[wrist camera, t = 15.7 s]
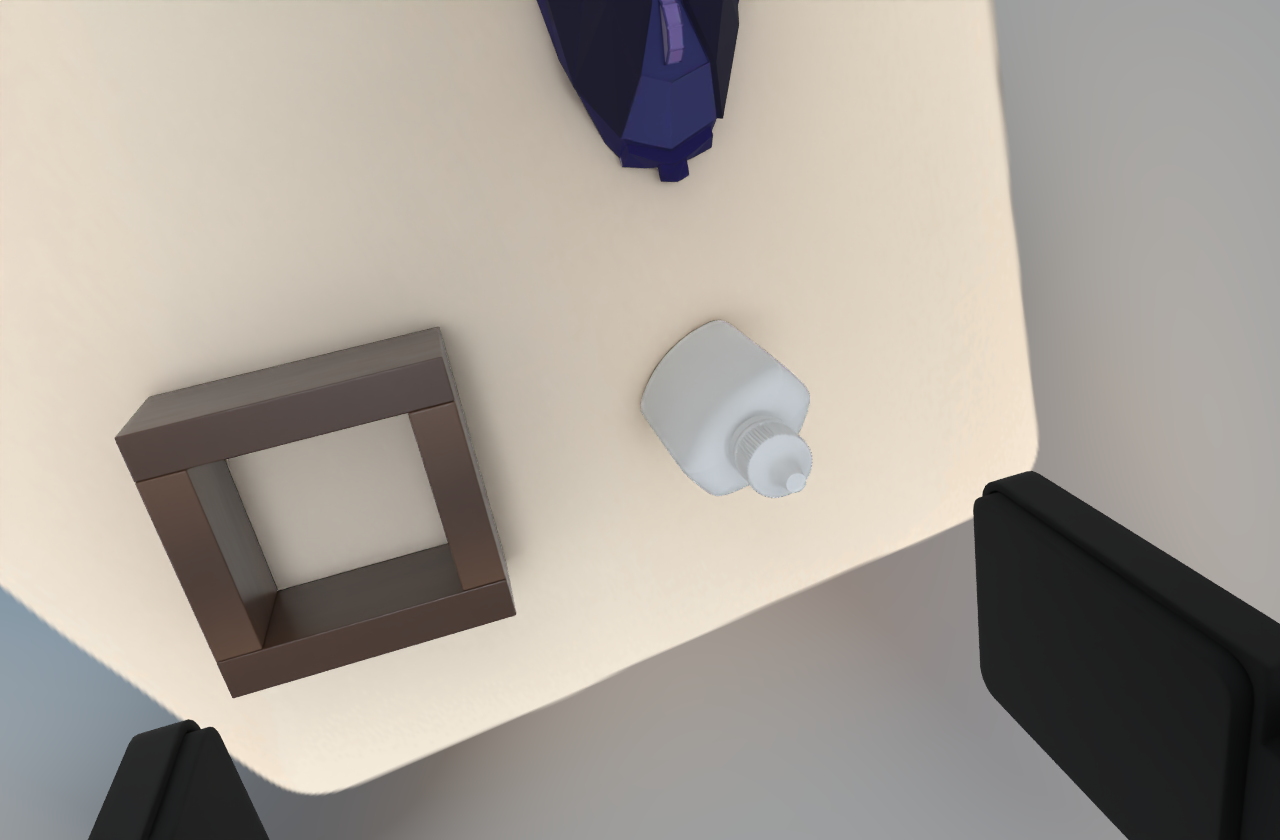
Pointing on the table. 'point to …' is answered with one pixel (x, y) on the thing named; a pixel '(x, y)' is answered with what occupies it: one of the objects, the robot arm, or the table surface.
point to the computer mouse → (648, 73)
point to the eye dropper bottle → (730, 413)
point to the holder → (228, 549)
